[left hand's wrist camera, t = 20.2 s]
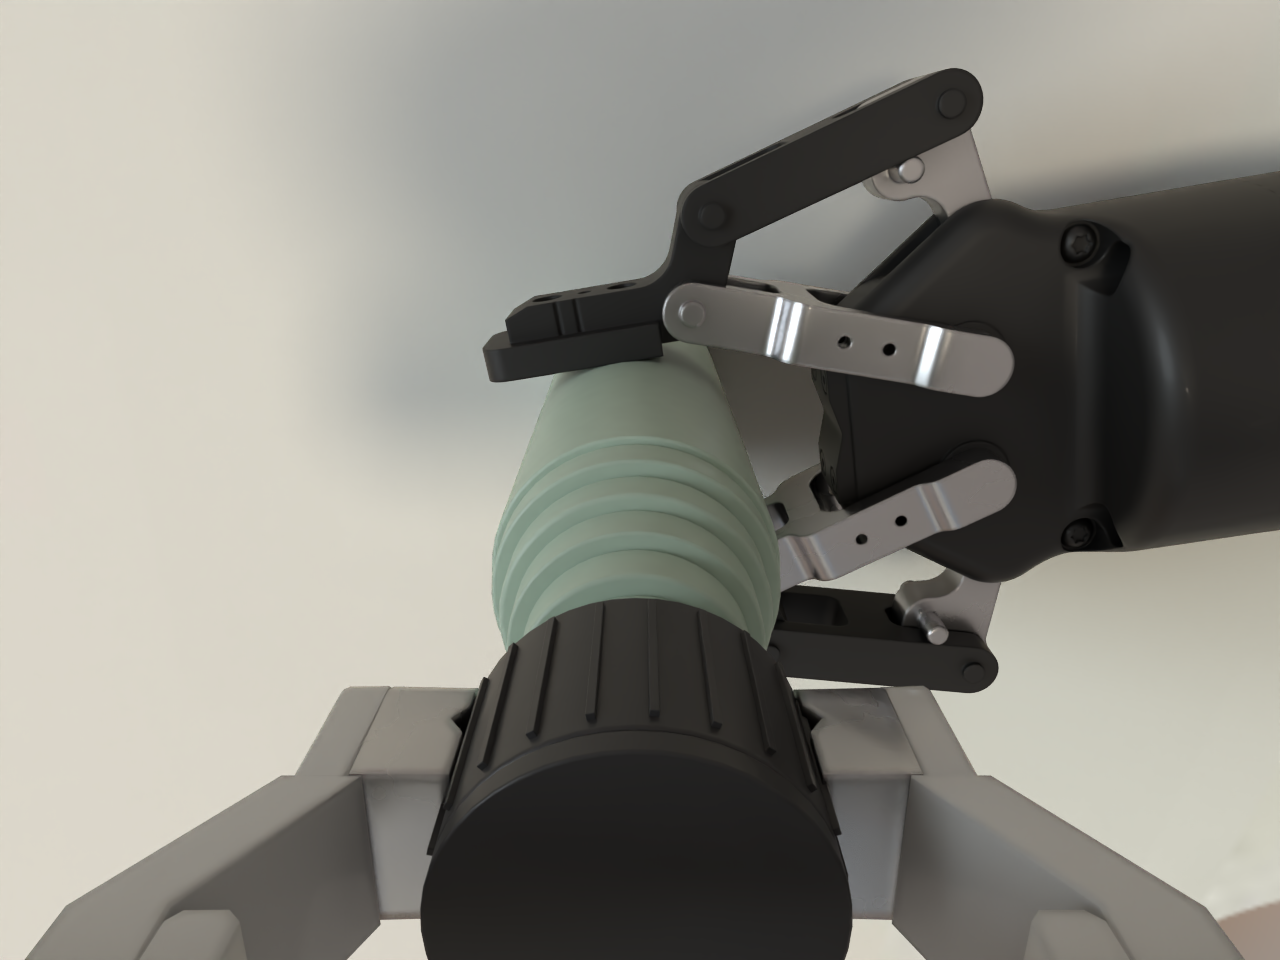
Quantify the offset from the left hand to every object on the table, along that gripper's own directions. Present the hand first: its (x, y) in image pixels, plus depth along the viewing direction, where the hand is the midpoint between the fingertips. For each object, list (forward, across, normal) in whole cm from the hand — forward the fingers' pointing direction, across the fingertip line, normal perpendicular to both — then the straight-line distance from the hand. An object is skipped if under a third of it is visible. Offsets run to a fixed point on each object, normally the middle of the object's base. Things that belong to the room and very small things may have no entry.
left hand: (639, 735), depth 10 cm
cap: (0, 0, 0) cm, 0 cm away
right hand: (+10, -3, 0) cm, 11 cm away
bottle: (+17, 0, 0) cm, 17 cm away
